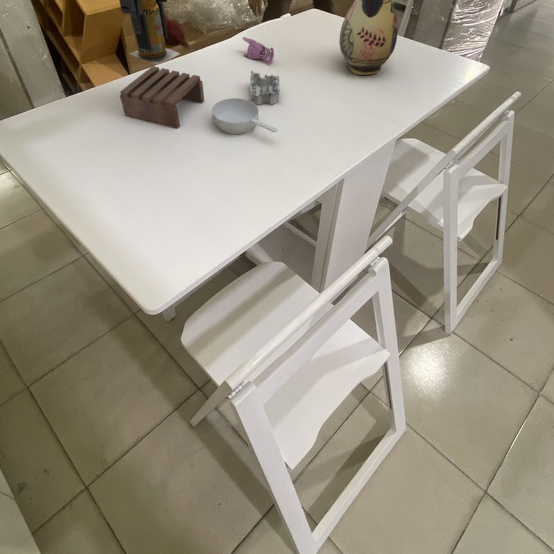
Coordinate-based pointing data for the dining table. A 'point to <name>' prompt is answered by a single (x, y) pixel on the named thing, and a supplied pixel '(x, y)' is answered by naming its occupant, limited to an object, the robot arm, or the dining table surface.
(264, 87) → the egg carton
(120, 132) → the dining table surface
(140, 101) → the rack
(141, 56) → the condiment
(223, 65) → the dining table surface
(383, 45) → the ceramic jug
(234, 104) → the saucepan
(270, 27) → the dining table surface
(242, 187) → the dining table surface
